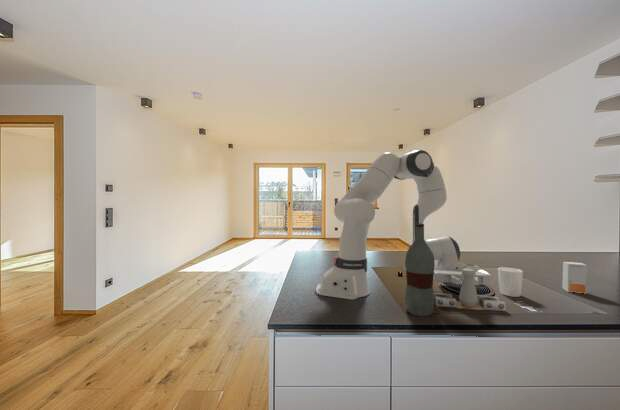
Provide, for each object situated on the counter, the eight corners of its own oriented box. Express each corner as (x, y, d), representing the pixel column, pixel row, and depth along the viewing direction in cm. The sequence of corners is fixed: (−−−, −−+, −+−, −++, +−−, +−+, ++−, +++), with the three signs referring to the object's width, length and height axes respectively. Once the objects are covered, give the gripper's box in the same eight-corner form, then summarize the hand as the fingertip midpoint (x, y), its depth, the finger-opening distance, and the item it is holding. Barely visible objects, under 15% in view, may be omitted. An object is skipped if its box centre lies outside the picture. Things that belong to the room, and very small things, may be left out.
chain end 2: (484, 309, 88) (484, 301, 88) (477, 303, 94) (477, 295, 94) (505, 311, 87) (505, 302, 87) (497, 304, 92) (497, 296, 92)
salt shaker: (480, 309, 88) (481, 272, 87) (462, 307, 89) (462, 271, 89) (474, 302, 93) (474, 267, 93) (456, 301, 95) (457, 266, 95)
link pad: (457, 308, 90) (457, 307, 90) (451, 301, 96) (451, 300, 96) (484, 310, 88) (484, 309, 88) (476, 303, 94) (476, 302, 94)
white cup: (516, 299, 98) (516, 273, 98) (493, 292, 105) (493, 268, 105) (526, 295, 102) (526, 270, 102) (503, 289, 109) (504, 266, 109)
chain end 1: (436, 306, 91) (436, 298, 91) (432, 300, 97) (432, 292, 96) (456, 307, 90) (456, 299, 90) (450, 301, 95) (450, 293, 95)
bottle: (434, 308, 90) (434, 223, 89) (435, 319, 81) (435, 225, 81) (405, 303, 93) (406, 222, 93) (403, 313, 85) (404, 224, 85)
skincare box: (567, 292, 105) (568, 263, 105) (562, 289, 109) (562, 261, 109) (587, 294, 103) (587, 264, 103) (580, 291, 107) (581, 262, 107)
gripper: (427, 263, 106) (437, 272, 93) (481, 265, 102) (500, 275, 89) (427, 278, 106) (437, 289, 93) (481, 281, 103) (500, 293, 89)
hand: (468, 282), depth 91 cm, fingers open, 4 cm apart
